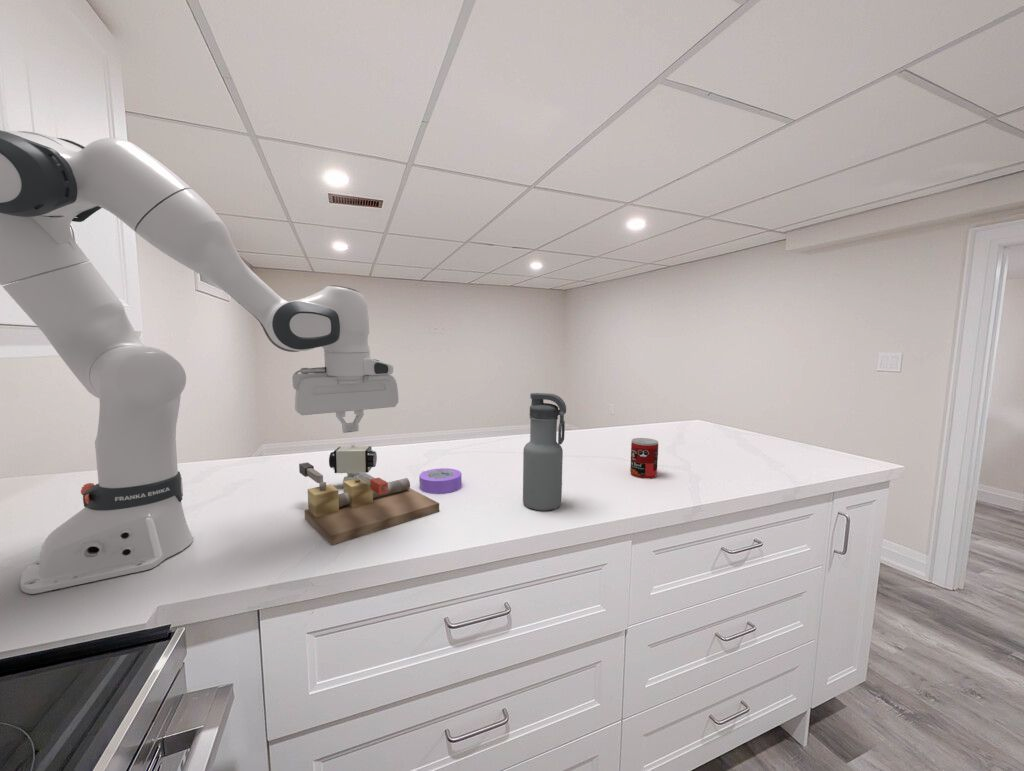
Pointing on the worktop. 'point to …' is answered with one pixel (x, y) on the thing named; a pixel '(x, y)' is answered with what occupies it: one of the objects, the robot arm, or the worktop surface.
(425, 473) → the masking tape
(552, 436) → the water bottle
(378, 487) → the red lever
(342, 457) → the pneumatic valve
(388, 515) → the pipe board
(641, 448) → the canned food
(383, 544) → the worktop surface
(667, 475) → the worktop surface
